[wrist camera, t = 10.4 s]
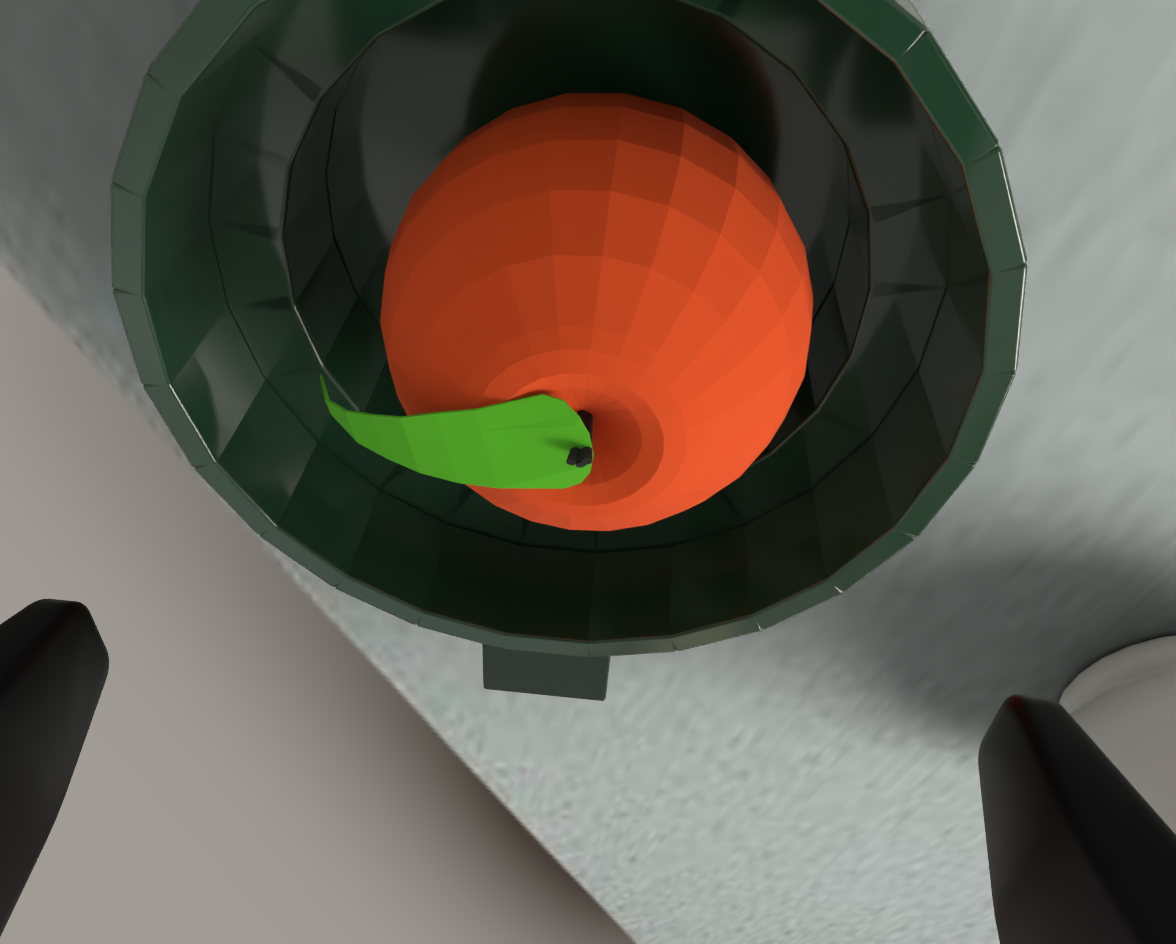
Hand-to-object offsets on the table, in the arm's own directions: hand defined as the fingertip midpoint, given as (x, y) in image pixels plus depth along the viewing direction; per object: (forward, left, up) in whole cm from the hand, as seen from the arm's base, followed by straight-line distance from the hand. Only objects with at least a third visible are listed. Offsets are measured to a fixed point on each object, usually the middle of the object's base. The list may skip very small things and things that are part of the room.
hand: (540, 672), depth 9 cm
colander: (+1, +1, -12) cm, 12 cm away
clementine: (+1, +1, -11) cm, 11 cm away
